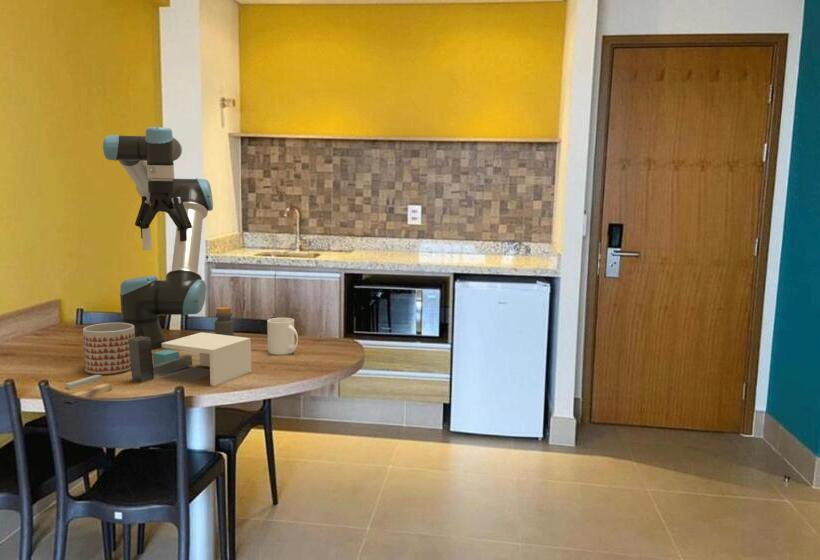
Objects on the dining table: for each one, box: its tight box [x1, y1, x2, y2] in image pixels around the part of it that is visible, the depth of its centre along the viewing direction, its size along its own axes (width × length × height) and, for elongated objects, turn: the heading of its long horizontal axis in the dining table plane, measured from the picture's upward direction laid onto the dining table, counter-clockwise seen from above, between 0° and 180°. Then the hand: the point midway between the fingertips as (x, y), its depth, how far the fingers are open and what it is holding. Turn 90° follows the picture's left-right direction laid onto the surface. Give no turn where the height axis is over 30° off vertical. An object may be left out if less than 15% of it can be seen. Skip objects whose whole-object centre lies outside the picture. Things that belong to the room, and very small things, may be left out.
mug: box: [266, 317, 299, 356], centre depth 215 cm, size 9×12×11 cm
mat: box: [161, 366, 210, 382], centre depth 191 cm, size 22×11×1 cm, turn 66°
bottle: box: [214, 306, 235, 336], centre depth 213 cm, size 6×6×15 cm
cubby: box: [161, 331, 252, 387], centre depth 187 cm, size 18×16×10 cm
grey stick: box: [64, 375, 103, 390], centre depth 179 cm, size 2×10×2 cm, turn 156°
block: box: [152, 349, 180, 365], centre depth 193 cm, size 5×5×5 cm
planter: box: [82, 322, 135, 376], centre depth 193 cm, size 14×14×13 cm
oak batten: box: [70, 383, 113, 398], centre depth 168 cm, size 12×2×2 cm, turn 157°
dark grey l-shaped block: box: [128, 336, 193, 383], centre depth 187 cm, size 4×18×12 cm, turn 148°
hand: (164, 251), depth 200 cm, fingers open, 13 cm apart
